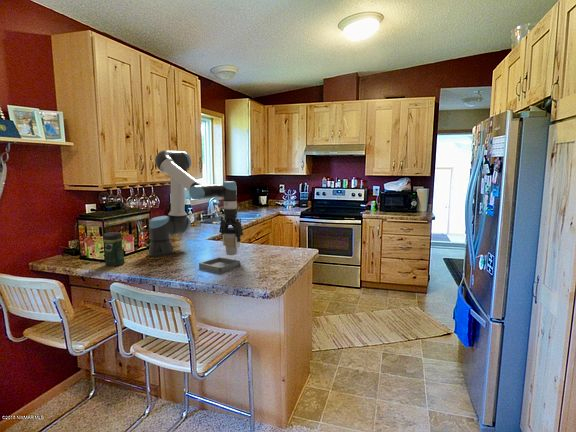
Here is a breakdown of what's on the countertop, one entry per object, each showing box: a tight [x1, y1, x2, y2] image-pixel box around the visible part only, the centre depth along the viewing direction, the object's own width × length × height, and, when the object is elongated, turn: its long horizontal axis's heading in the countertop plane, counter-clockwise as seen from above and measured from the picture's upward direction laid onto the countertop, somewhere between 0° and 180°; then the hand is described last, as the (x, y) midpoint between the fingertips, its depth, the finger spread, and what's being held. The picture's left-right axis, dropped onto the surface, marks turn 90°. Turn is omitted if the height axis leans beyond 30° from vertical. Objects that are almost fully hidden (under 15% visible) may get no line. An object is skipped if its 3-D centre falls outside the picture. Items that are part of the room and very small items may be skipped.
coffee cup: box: [223, 227, 238, 256], centre depth 201 cm, size 9×9×15 cm
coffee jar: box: [102, 231, 125, 267], centre depth 194 cm, size 10×8×19 cm
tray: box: [198, 256, 241, 274], centre depth 187 cm, size 16×15×3 cm
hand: (231, 246), depth 202 cm, fingers closed on coffee cup, 9 cm apart
